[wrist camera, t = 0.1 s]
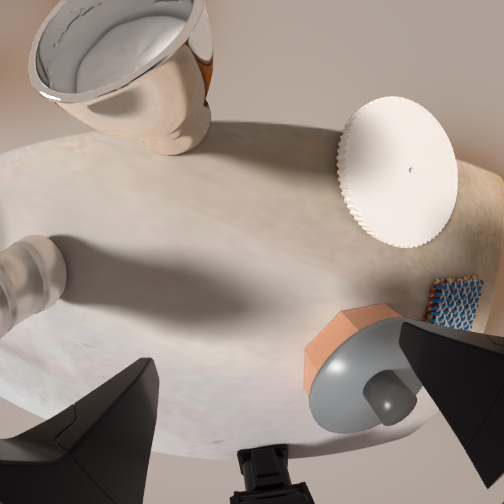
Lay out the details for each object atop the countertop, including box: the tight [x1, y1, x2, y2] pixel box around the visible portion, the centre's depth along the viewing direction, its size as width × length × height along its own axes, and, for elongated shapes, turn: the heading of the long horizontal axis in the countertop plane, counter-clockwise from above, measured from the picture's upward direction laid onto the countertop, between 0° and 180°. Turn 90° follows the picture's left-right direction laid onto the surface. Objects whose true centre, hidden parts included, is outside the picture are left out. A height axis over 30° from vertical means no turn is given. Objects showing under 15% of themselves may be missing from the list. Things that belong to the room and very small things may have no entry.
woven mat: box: [424, 275, 484, 331], centre depth 27 cm, size 10×11×2 cm
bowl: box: [304, 303, 402, 397], centre depth 24 cm, size 12×12×4 cm
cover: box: [309, 317, 423, 434], centre depth 20 cm, size 14×14×5 cm
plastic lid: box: [337, 96, 458, 248], centre depth 22 cm, size 14×14×2 cm
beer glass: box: [28, 0, 213, 155], centre depth 12 cm, size 7×7×15 cm
